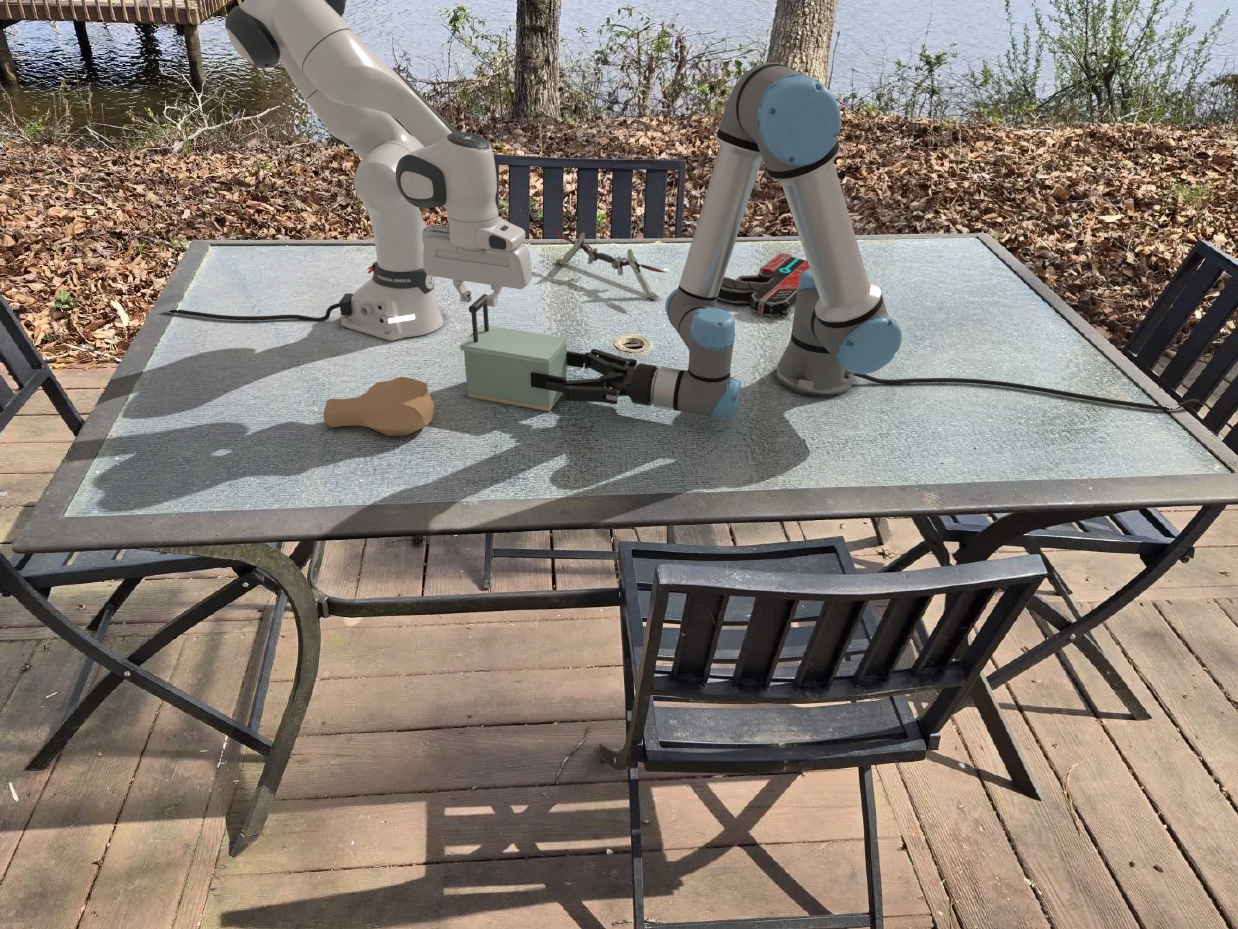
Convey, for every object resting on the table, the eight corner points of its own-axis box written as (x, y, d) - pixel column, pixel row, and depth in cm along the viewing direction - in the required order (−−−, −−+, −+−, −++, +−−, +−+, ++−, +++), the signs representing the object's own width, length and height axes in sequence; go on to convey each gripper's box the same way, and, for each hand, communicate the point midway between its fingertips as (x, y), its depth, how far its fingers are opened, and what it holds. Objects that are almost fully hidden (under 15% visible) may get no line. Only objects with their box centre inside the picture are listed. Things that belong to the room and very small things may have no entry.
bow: (666, 301, 209) (668, 260, 204) (661, 303, 208) (663, 262, 203) (554, 258, 231) (553, 221, 225) (549, 260, 229) (548, 222, 224)
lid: (460, 350, 164) (456, 308, 159) (481, 329, 171) (479, 288, 167) (548, 364, 160) (547, 322, 155) (566, 342, 167) (566, 301, 163)
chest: (467, 396, 169) (463, 350, 164) (488, 374, 177) (485, 330, 171) (549, 411, 165) (548, 365, 160) (567, 388, 173) (566, 343, 167)
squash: (434, 443, 155) (421, 404, 149) (325, 451, 157) (307, 413, 150) (443, 403, 163) (431, 365, 157) (339, 412, 164) (323, 374, 158)
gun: (708, 284, 207) (784, 305, 199) (760, 245, 229) (831, 262, 221) (706, 302, 209) (781, 323, 201) (758, 261, 231) (828, 278, 223)
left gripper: (412, 228, 155) (420, 301, 163) (520, 243, 150) (523, 317, 158) (429, 218, 160) (436, 289, 168) (533, 231, 155) (536, 304, 163)
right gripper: (637, 433, 154) (519, 412, 159) (669, 377, 172) (562, 359, 177) (639, 396, 150) (518, 375, 155) (671, 342, 168) (561, 325, 173)
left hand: (479, 303), depth 163 cm, fingers open, 4 cm apart
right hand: (541, 367), depth 166 cm, fingers closed on chest, 10 cm apart
